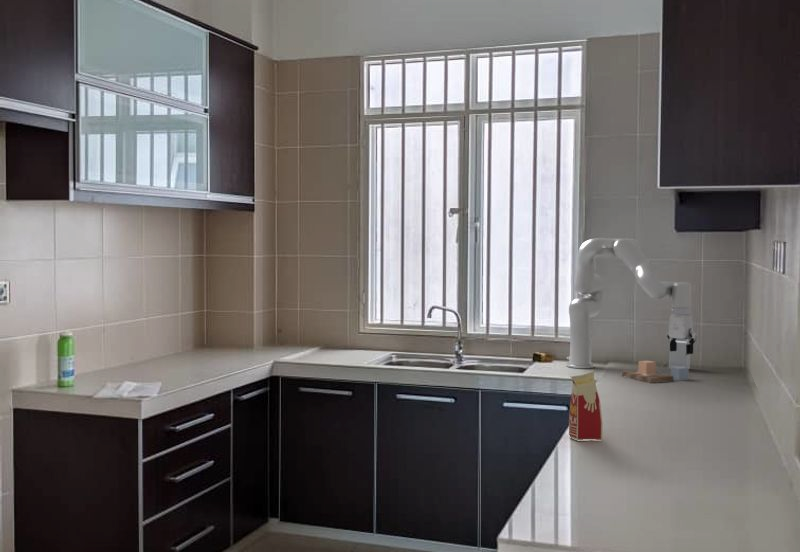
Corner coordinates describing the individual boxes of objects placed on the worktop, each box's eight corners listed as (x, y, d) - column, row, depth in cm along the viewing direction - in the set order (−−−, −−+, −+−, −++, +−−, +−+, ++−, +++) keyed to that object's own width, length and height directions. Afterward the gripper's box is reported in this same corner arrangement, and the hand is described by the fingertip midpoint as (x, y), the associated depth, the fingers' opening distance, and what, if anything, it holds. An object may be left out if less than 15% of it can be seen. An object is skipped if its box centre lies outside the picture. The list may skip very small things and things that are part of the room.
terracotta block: (638, 372, 344) (638, 361, 344) (647, 372, 346) (647, 360, 346) (646, 374, 340) (646, 362, 339) (655, 374, 342) (656, 362, 341)
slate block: (670, 378, 343) (670, 366, 343) (680, 377, 345) (680, 366, 345) (678, 380, 339) (679, 368, 338) (688, 379, 341) (688, 368, 340)
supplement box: (685, 371, 362) (685, 343, 362) (668, 369, 367) (669, 341, 366) (690, 369, 368) (691, 341, 368) (673, 367, 373) (674, 340, 372)
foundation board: (621, 375, 349) (621, 370, 349) (644, 374, 353) (644, 369, 353) (650, 382, 332) (650, 377, 332) (673, 381, 337) (673, 376, 337)
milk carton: (595, 434, 245) (596, 368, 244) (603, 442, 236) (605, 373, 235) (565, 434, 245) (566, 368, 244) (572, 442, 235) (573, 373, 234)
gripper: (660, 310, 347) (660, 350, 348) (689, 313, 331) (689, 355, 332) (674, 310, 350) (673, 349, 351) (703, 312, 334) (703, 354, 335)
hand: (681, 352), depth 341 cm, fingers open, 9 cm apart
